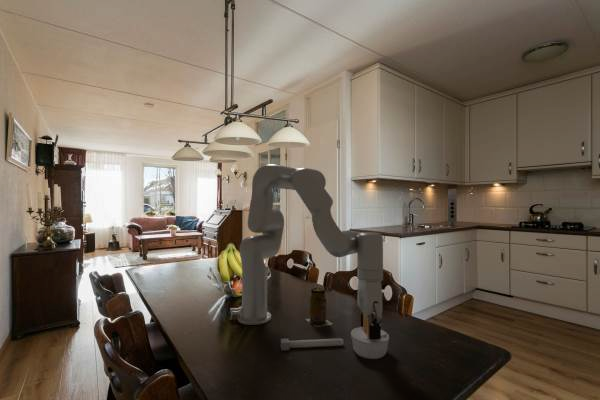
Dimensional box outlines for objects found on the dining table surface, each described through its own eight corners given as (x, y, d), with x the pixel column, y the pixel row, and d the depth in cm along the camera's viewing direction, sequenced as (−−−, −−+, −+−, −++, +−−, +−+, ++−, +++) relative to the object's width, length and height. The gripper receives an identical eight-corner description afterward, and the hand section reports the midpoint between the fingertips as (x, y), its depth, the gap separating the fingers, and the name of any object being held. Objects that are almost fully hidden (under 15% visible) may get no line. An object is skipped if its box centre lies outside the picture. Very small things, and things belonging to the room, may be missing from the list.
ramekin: (382, 365, 82) (382, 346, 82) (344, 354, 88) (344, 336, 88) (393, 349, 91) (393, 331, 92) (358, 340, 97) (358, 323, 98)
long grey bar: (281, 350, 90) (281, 342, 90) (280, 346, 93) (280, 338, 93) (344, 347, 92) (344, 340, 92) (342, 343, 95) (342, 336, 95)
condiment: (321, 316, 117) (321, 285, 117) (333, 324, 110) (333, 291, 110) (304, 319, 114) (304, 288, 114) (315, 328, 107) (315, 294, 107)
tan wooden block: (368, 338, 87) (368, 317, 87) (363, 331, 92) (363, 312, 92) (378, 337, 87) (378, 317, 88) (372, 330, 92) (372, 311, 92)
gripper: (350, 267, 99) (350, 321, 98) (366, 281, 81) (367, 347, 81) (372, 267, 99) (372, 321, 99) (393, 280, 82) (393, 345, 82)
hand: (370, 332), depth 90 cm, fingers open, 7 cm apart
